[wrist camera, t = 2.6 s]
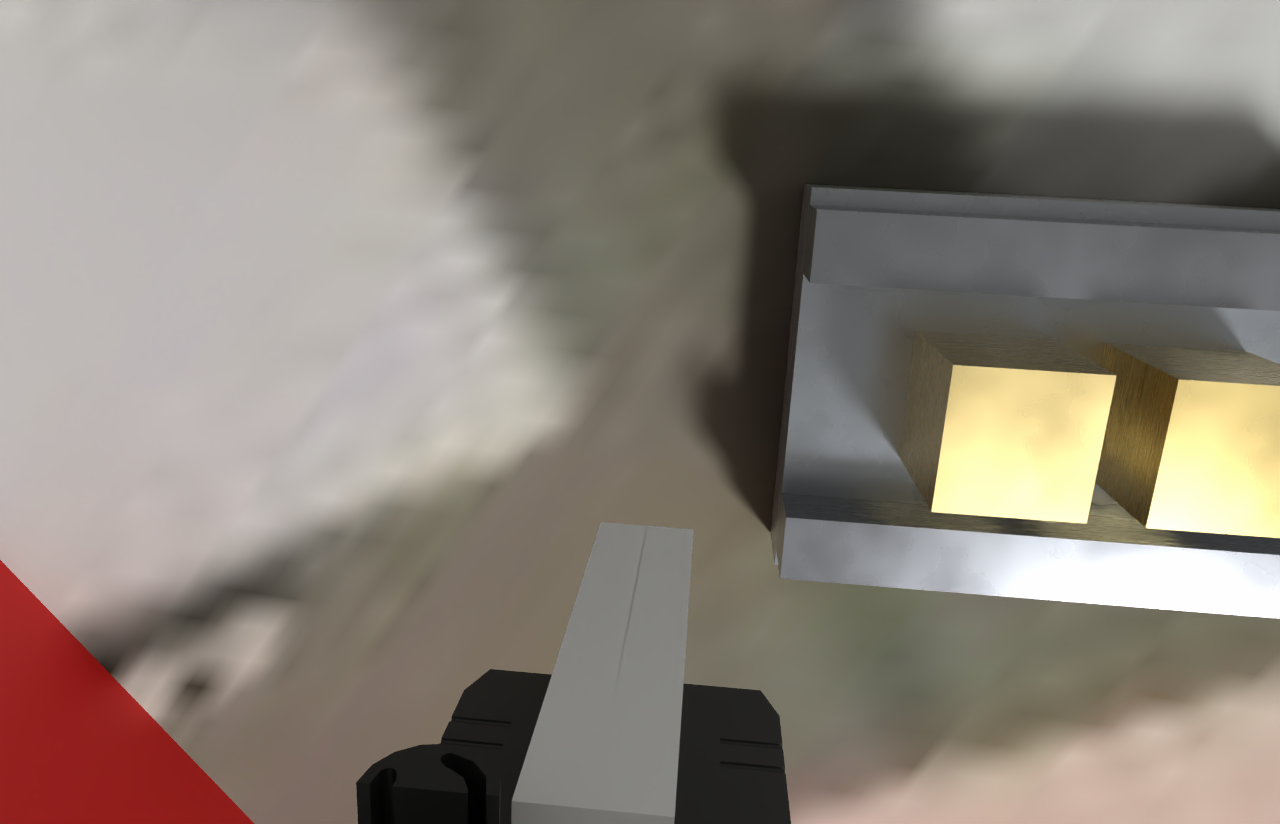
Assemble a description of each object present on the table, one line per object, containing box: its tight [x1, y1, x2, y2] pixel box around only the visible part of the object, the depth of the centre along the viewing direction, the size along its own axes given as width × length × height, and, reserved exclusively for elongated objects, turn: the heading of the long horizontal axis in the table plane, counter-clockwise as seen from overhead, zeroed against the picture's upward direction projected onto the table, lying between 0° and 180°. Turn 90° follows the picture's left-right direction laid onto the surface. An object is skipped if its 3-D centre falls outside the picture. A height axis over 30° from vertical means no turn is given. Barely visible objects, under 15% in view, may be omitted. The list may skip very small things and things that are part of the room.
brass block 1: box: [899, 331, 1117, 524], centre depth 26 cm, size 4×4×4 cm
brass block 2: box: [1095, 342, 1280, 538], centre depth 25 cm, size 4×4×4 cm
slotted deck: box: [771, 184, 1280, 619], centre depth 28 cm, size 12×16×4 cm
